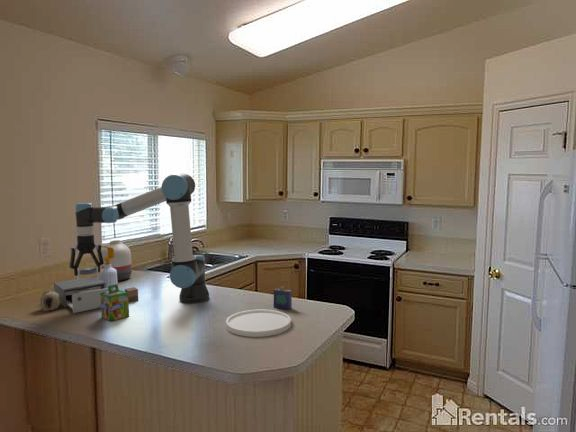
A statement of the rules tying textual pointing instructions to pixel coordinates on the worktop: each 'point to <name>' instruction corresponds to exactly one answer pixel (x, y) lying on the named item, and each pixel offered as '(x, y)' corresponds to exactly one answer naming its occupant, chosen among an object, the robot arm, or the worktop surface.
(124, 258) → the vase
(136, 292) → the block
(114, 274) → the soap bottle
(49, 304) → the garlic bulb
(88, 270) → the disc
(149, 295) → the worktop surface
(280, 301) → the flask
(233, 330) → the plate
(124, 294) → the chalk box
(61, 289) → the housing
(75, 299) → the grey drawer
